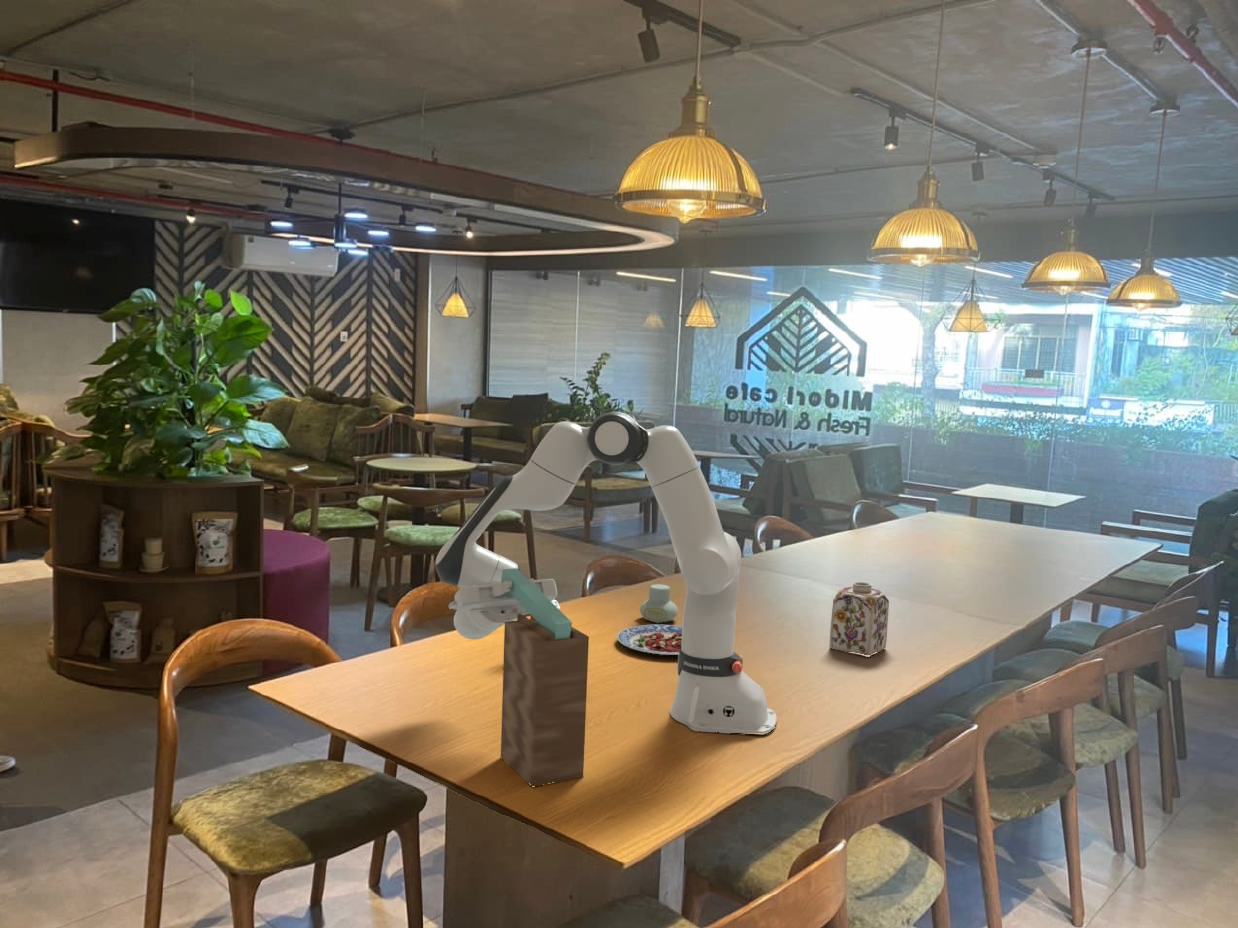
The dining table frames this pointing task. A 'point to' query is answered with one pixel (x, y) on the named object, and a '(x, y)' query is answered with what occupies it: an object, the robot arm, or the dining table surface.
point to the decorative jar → (859, 620)
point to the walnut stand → (543, 702)
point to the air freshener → (659, 605)
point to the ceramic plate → (653, 639)
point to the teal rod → (537, 604)
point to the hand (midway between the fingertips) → (520, 583)
